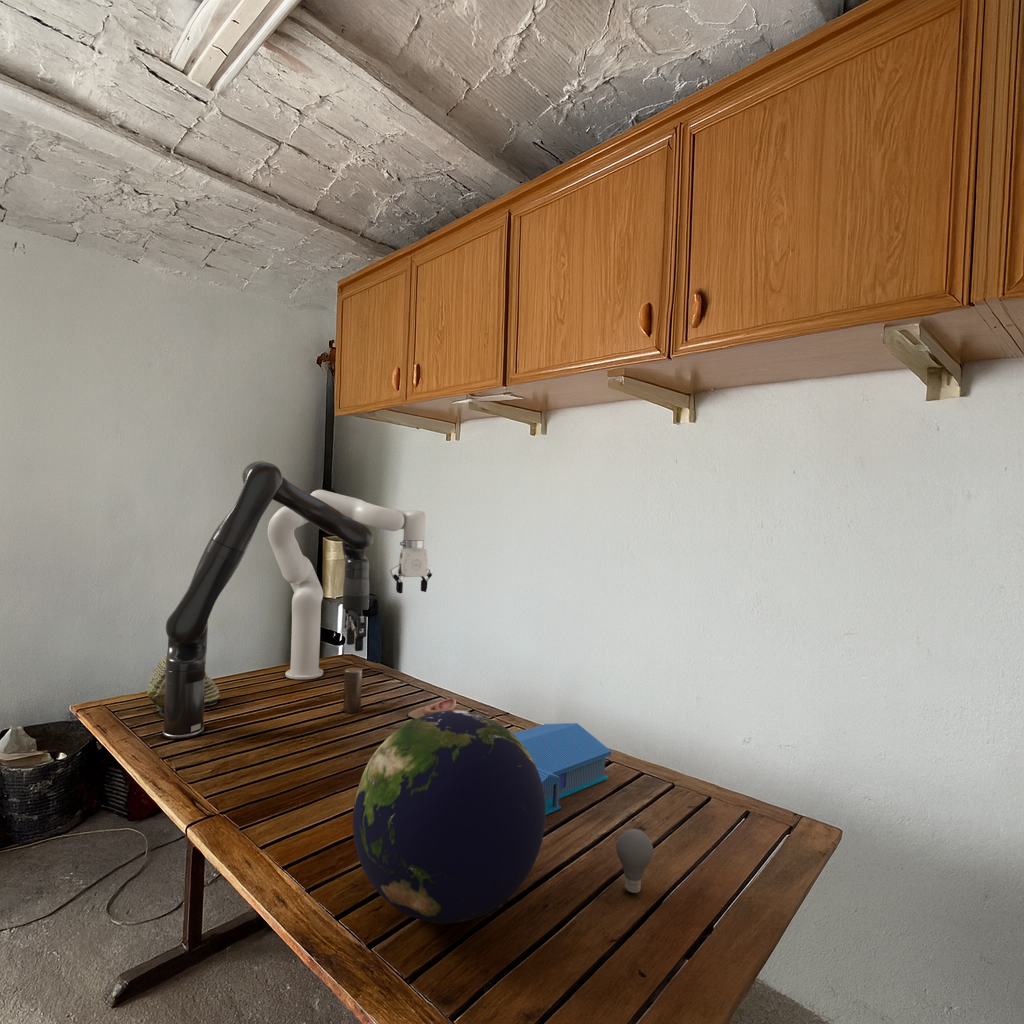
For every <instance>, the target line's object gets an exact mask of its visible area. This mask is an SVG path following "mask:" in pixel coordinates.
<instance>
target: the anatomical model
mask: <svg viewBox="0 0 1024 1024" xmlns="http://www.w3.org/2000/svg"><path fill="white" fill-rule="evenodd" d="M456 706H457V700H456V698H448V699H444V700H440V701H437V702H433V703H430V704H428V705H425V706H422V707H419V708H418V707H417V708H415V709H413V710H412V711H410V712H408V714H407V716H408V717H409V718H412V719H417V718H419V717H421V716H424V715H428V714H431V713H435V712H441V711H455V708H456Z"/></svg>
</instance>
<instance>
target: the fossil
mask: <svg viewBox="0 0 1024 1024" xmlns="http://www.w3.org/2000/svg"><path fill="white" fill-rule="evenodd" d="M166 657H167V654H165V655H164V656H163V657H162V658H161V659H160V660H159V662H158V663H157V666H156V667H155V669H154V670H153V672H152V675H151V677H150V680H149V684H148V688H147V697H148V699H149V700H150V701H152V703H153V704H154V706H155V711H158V712H159V711H160V710H161V709H163V708H164V705H165V674H166ZM220 698H221V696H220V690H219V688H218V686H217V685H216V683H215V682H214V681H213V679H212V678H211V677H209V675H208V674H207V672H206V671H205V693H204V707H207V706H213V705H215V704H217V703H218V701H219V699H220Z"/></svg>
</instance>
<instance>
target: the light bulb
mask: <svg viewBox="0 0 1024 1024" xmlns="http://www.w3.org/2000/svg"><path fill="white" fill-rule="evenodd" d="M615 849H616V854H617V857H618V859H619V861H620V863H621V865H622V867H623V873H624V874H623V875H624V876H625V878H624V888H625V890H627V891H628V892H630V893H634V894H635V893H639V892H640V891H641V889H642V887H641V886H642V879H643V877H644V875H645V871H646V868H647V867H648V866H649V864H650V863H651V861H652V859H653V855H654V847H653V843H652V841H651V838H649V836H648V835H647V834H646V833H645V832H643V831H642V830H641V829H636V828H629V829H627V830H625V831H623V832H622V833H621V834H620V835H619V837H618V839H617V841H616V847H615Z"/></svg>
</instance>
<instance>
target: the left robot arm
mask: <svg viewBox="0 0 1024 1024" xmlns="http://www.w3.org/2000/svg"><path fill="white" fill-rule="evenodd" d="M241 480H242V484H243V486H242V489H241V491H240V493H239V495H238V497H237V500H236V502H235V504H234V506H233V507H232V509H231V510H230V511H229V513H228V514H227V515H226V516H225V517H224V518H223V519H222V521H221V522H220V524H219V525H218V526H217V528H216V529H215V530H214V532H213V533H212V535H211V537H210V539H209V540H208V542H207V544H206V546H205V548H204V549H203V552H202V554H201V556H200V559H199V561H198V563H197V566H196V568H195V571H194V572H193V573H194V574H193V576H192V579H191V581H190V584H189V586H188V588H187V590H186V591H185V593H184V595H183V597H182V598H181V600H180V601H179V603H178V605H177V606H176V607H175V609H174V610H173V611H172V612H171V613H170V615H169V616H168V618H167V620H166V622H165V632H166V635H167V651H166V655H167V657H166V674H165V705H164V708H163V709H161V710H160V711H159V710H158V714H159V715H160V717H162V718H163V730H162V737H164V738H166V739H169V740H185V739H190V738H191V739H192V738H194V737H197V736H199V735H202V734H203V732H204V730H205V729H204V727H205V725H204V722H205V721H204V718H205V706H204V693H205V672H206V664H207V663H206V662H207V661H206V660H207V652H208V631H209V630H208V629H209V619H210V615H211V613H212V611H213V608H214V606H215V605H216V602H217V600H218V598H219V597H220V595H221V594H222V592H223V590H224V589H225V588H226V586H227V584H228V583H229V582H230V580H231V579H232V578H233V576H234V574H235V572H236V571H237V569H238V567H239V565H240V563H241V562H242V560H243V558H244V557H245V554H246V552H247V550H248V548H249V546H250V544H251V542H252V539H253V538H254V535H255V533H256V530H257V528H258V526H259V524H260V521H261V519H262V517H263V515H264V514H265V512H266V511H267V509H268V507H269V506H270V504H271V503H272V501H275V502H277V503H278V504H280V505H282V506H283V507H284V506H286V507H287V508H289V509H291V510H292V511H294V512H295V513H297V514H298V515H300V516H301V517H303V518H304V519H306V520H307V521H309V522H308V523H310V524H312V525H313V526H315V527H316V528H318V529H320V530H322V531H323V532H325V533H327V534H329V535H332V536H335V537H337V538H339V539H340V540H341V547H342V554H343V559H344V568H343V569H344V570H343V571H344V573H343V576H344V577H343V583H342V609H343V610H344V625H343V627H344V629H345V632H346V645H348V646H353V645H354V651H355V652H362V651H363V650H364V638H366V637H367V616H366V615H364V613H363V611H366V610H368V609H369V607H370V561H369V559H368V558H367V556H366V549H368V548H369V547H371V545H372V544H373V542H374V534H373V532H372V530H371V529H370V528H369V526H367V525H365V524H361V523H359V522H357V521H355V520H353V519H351V518H349V517H347V516H345V515H344V514H342V513H341V512H340V511H338V510H337V509H335V508H333V507H332V506H330V505H328V504H327V503H325V502H323V501H322V500H320V499H318V498H316V497H314V496H312V495H310V494H311V493H308V492H306V491H305V490H303V489H301V488H299V487H297V486H296V485H295V484H293V483H291V482H290V481H289V480H287V479H286V478H285V477H284V476H283V474H282V472H281V470H280V468H279V467H278V466H277V465H275V464H273V463H271V462H268V461H263V460H258V461H253V462H250V463H248V464H247V465H246V466H245V467H244V469H243V471H242V473H241Z"/></svg>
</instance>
